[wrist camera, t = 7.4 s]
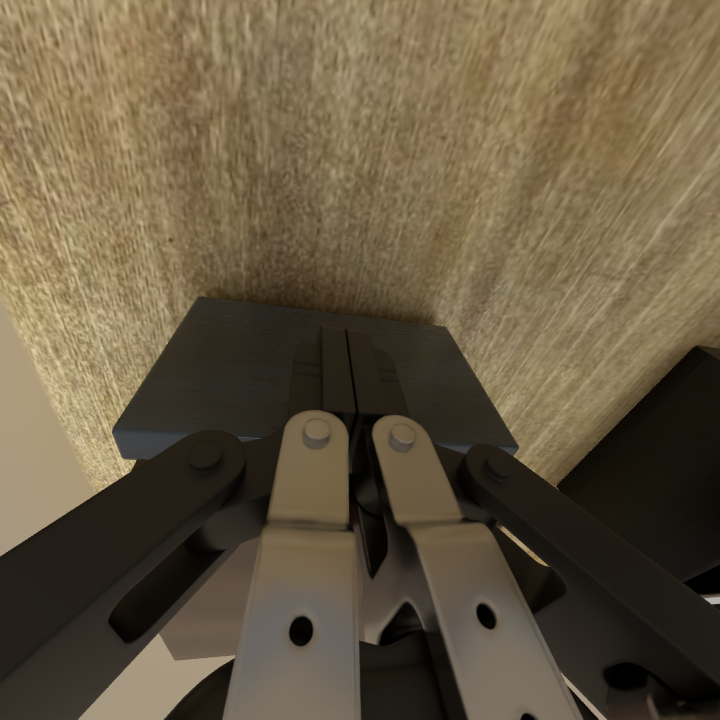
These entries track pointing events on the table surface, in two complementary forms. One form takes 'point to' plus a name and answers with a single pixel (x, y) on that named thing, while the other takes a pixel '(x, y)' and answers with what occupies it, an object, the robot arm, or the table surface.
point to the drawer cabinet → (224, 607)
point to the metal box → (664, 474)
